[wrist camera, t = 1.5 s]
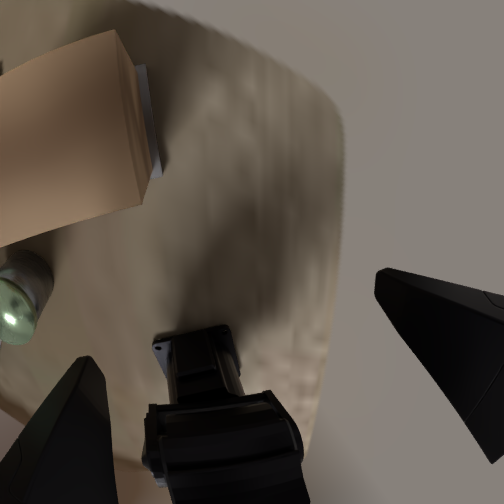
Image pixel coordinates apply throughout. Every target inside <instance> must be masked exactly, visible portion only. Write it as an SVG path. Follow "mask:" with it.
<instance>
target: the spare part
mask: <svg viewBox="0 0 504 504" xmlns="http://www.w3.org/2000/svg"><path fill="white" fill-rule="evenodd" d="M53 287H54V280H53V275H52V272H51V270H50V268H49V266H48V264H47V263H46V262H45V261H44V260H43V259H42V258H41V257H40V256H39V255H37V254H36V253H34V252H32V251H28V250H20V251H17V252H15V253H14V254H13V255H12V256H11V257H10V258H9V259H8V260H7V261H6V262H5V263H4V264H3V265H2V266H1V268H0V339H1V340H2V341H4V342H6V343H9V344H13V345H22V344H25V343H27V342H28V341H29V340H30V339H31V338H32V336H33V333H34V331H35V329H36V326H37V321H38V319H39V317H40V315H41V313H42V311H43V309H44V307H45V305H46V303H47V301H48V299H49V297H50V296H51V294H52V291H53Z"/></svg>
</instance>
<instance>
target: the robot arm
mask: <svg viewBox="0 0 504 504" xmlns="http://www.w3.org/2000/svg"><path fill="white" fill-rule="evenodd" d="M374 290H375V291H374V294H375V298H376V300H377V302H378V303H379V305H380V306H381V307H382V309H383V311H384V312H385V313H386V315H387V317H388V318H389V320H390V321H391V323H392V325H393V326H394V328H395V329H396V331H397V332H398V334H399V335H400V336H401V338H402V339H403V340H404V341H405V343H406V344H407V345H408V346H409V348H410V349H411V350H412V352H413V353H414V354H415V355H416V357H417V358H418V359H419V361H420V362H421V363H422V365H423V366H424V367H425V369H426V370H427V371H428V373H429V374H430V375H431V377H432V378H433V379H434V381H435V382H436V383H437V385H438V386H439V387H440V389H441V390H442V391H443V393H444V394H445V396H446V397H447V399H448V400H449V401H450V403H451V404H452V406H453V407H454V408H455V410H456V411H457V413H458V414H459V416H460V417H461V419H462V420H463V421H464V423H465V425H466V426H467V427H468V429H469V431H470V432H471V434H472V435H473V437H474V438H475V440H476V441H477V443H478V444H479V446H480V448H481V449H482V451H483V452H484V454H485V455H486V457H487V459H488V460H489V462H490V463H491V464H493V463H494V462H496V461H497V460H498V459H499V458H500V457H502V456H503V455H504V296H503V295H499V294H495V293H491V292H487V291H481V290H479V289H474V288H471V287H467V286H463V285H458V284H454V283H450V282H446V281H442V280H438V279H434V278H430V277H426V276H422V275H417V274H413V273H409V272H405V271H401V270H396V269H392V268H385V269H382V270H379V271H378V272H377V273H376V279H375V289H374ZM223 330H226V331H225V332H222V331H223ZM156 346H160V347H156ZM152 349H153V352H154V354H155V356H156V358H157V360H158V362H159V364H160V366H161V368H162V370H163V372H164V374H165V376H166V378H167V382H168V391H169V400H170V404H164V405H157V404H149V413H146V418H145V419H144V426H145V441H144V446H143V452H142V464H143V466H145V467H146V468H147V469H148V470H150V471H151V473H152V476H153V477H154V478H155V481H156V483H157V485H158V487H168V489H169V492H170V496H171V500H172V503H173V504H310V498H309V495H308V492H307V489H306V485H305V482H304V478H303V473H302V469H301V463H302V461H303V457H304V448H303V442H302V438H301V434H300V432H299V429H298V427H297V425H296V423H295V422H294V420H293V419H292V417H291V416H290V415H289V414H288V412H287V411H286V410H285V408H284V407H283V406H282V404H281V403H280V402H279V401H278V399H277V398H276V397H275V395H274V394H273V393H272V391H271V390H266V391H263V392H262V393H257V394H251V395H245V393H244V390H243V387H242V384H241V382H240V379H239V377H240V370H239V365H238V361H237V357H236V352H235V348H234V344H233V339H232V335H231V330H230V328H229V326H228V325H220V326H216V327H212V328H208V329H204V330H200V331H196V332H191V333H187V334H183V335H178V336H174V337H170V338H165V339H160V340H156V341H154V342H153V343H152ZM0 504H118V497H117V490H116V483H115V474H114V464H113V452H112V437H111V422H110V415H109V407H108V399H107V391H106V381H105V377H104V375H103V373H102V371H101V370H100V368H99V367H98V366H97V364H96V363H95V361H94V360H93V358H92V357H91V356H83V357H79V358H77V359H76V360H75V362H74V363H73V364H72V365H71V367H70V368H69V369H68V370H67V372H66V373H65V374H64V375H63V377H62V378H61V379H60V381H59V382H58V383H57V384H56V386H55V387H54V388H53V390H52V391H51V392H50V393H49V395H48V396H47V397H46V399H45V400H44V401H43V403H42V404H41V405H40V407H39V408H38V410H37V411H36V412H35V414H34V415H33V416H32V418H31V419H30V421H29V422H28V423H27V425H26V426H25V428H24V429H23V430H22V432H21V433H20V435H19V436H18V438H17V439H16V441H15V442H14V443H13V445H12V446H11V448H10V449H9V451H8V452H7V454H6V455H5V457H4V458H3V459H2V461H1V462H0Z"/></svg>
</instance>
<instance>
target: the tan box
mask: <svg viewBox="0 0 504 504" xmlns="http://www.w3.org/2000/svg"><path fill="white" fill-rule="evenodd" d="M162 176H163V172H162V166H161V161H160V155H159V150H158V144H157V138H156V132H155V126H154V120H153V113H152V106H151V99H150V92H149V85H148V77H147V68H146V64H140V65H136V66H134V65H133V63H132V61H131V59H130V57H129V55H128V53H127V52H126V50H125V48H124V46H123V44H122V42H121V40H120V38H119V36H118V34H117V32H116V30H115V29H114V30H110V31H106V32H103V33H100V34H96V35H93V36H90V37H87V38H84V39H81V40H78V41H75V42H73V43H70V44H67V45H65V46H62V47H60V48H57V49H55V50H52V51H50V52H48V53H45V54H43V55H41V56H39V57H36V58H34V59H32V60H30V61H28V62H26V63H24V64H22V65H20V66H18V67H16V68H14V69H12V70H10V71H9V72H7V73H5V74H3V75H1V76H0V248H1V247H3V246H6V245H9V244H12V243H14V242H17V241H20V240H23V239H26V238H29V237H32V236H35V235H38V234H41V233H44V232H47V231H50V230H53V229H56V228H59V227H63V226H66V225H69V224H72V223H76V222H79V221H82V220H86V219H89V218H93V217H96V216H100V215H103V214H107V213H111V212H114V211H118V210H122V209H126V208H130V207H134V206H138V205H142V202H143V199H144V195H145V192H146V189H147V186H148V183H149V180H150V179H154V178H158V177H162Z"/></svg>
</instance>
